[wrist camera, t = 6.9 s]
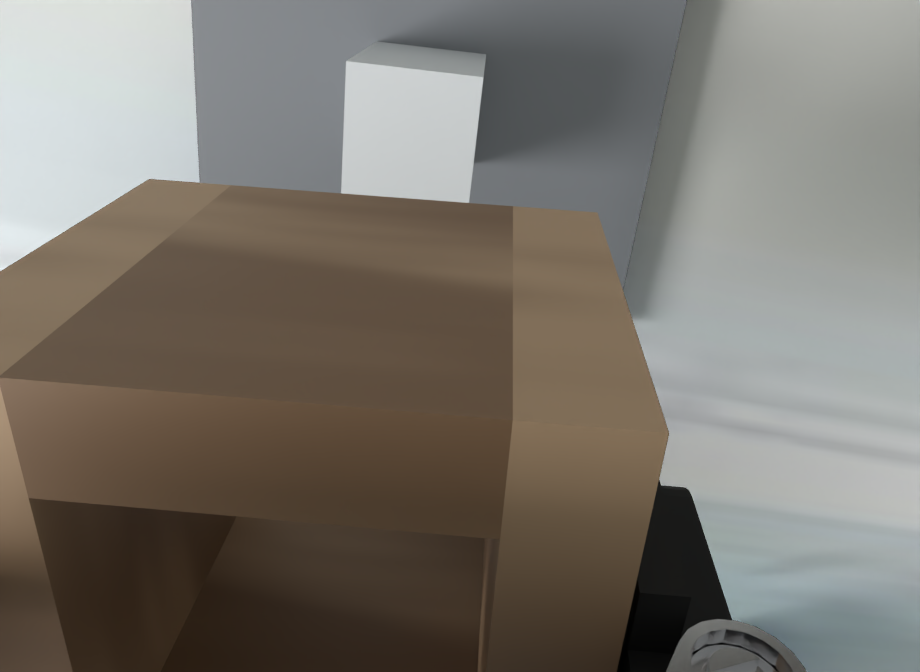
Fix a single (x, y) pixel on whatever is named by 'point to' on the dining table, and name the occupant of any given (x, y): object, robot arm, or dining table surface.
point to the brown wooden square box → (321, 438)
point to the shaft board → (530, 107)
